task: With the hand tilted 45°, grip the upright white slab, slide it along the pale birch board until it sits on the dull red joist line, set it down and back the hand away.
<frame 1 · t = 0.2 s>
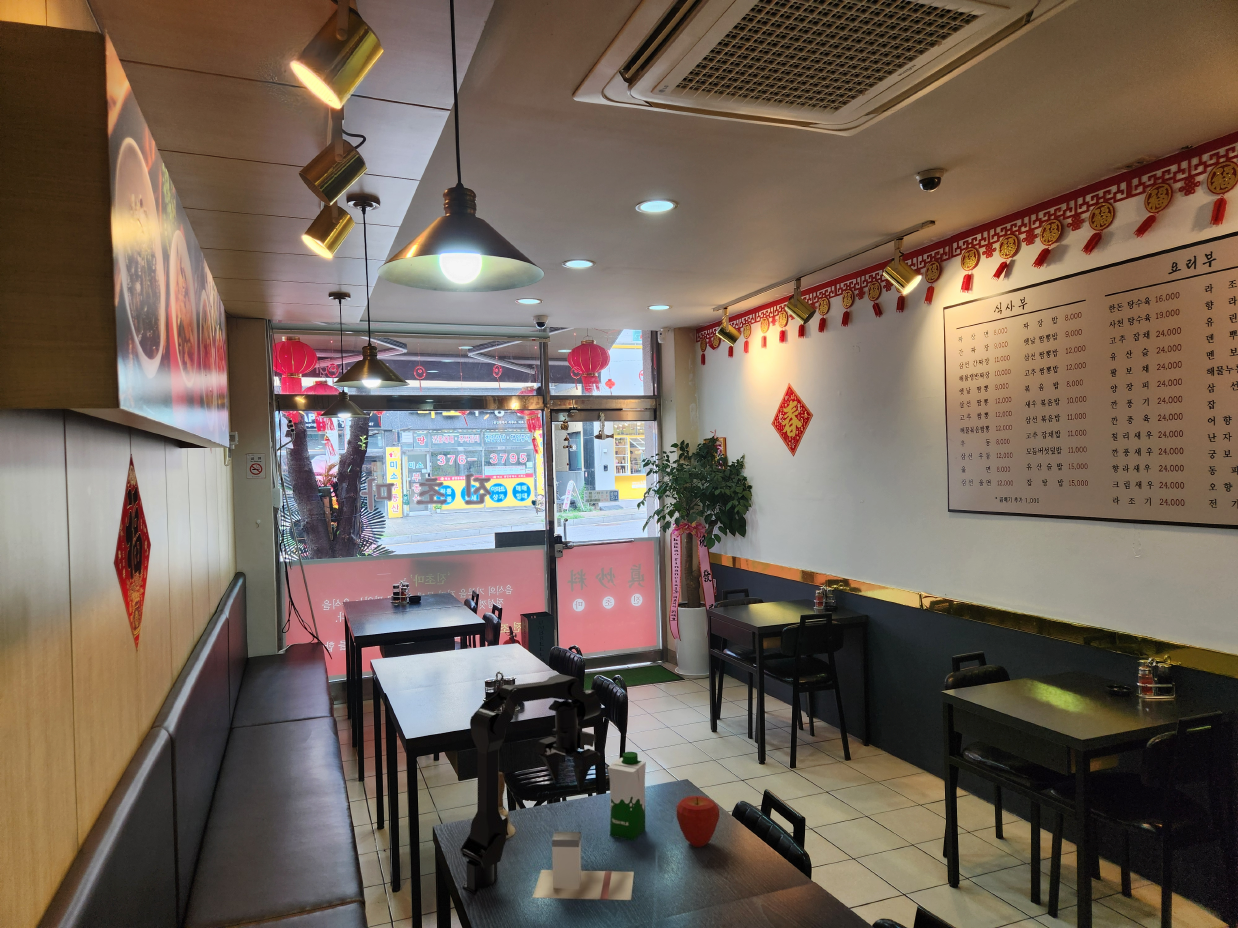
hand: (568, 785, 199), 15 cm above the table, tool pointing down, fingers open, 9 cm apart
hand bell: (499, 833, 206), on the table
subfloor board: (584, 888, 177), on the table
milk carton: (627, 833, 205), on the table
apple: (698, 844, 198), on the table
white slab: (567, 883, 177), point 1 cm above the table, touching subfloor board
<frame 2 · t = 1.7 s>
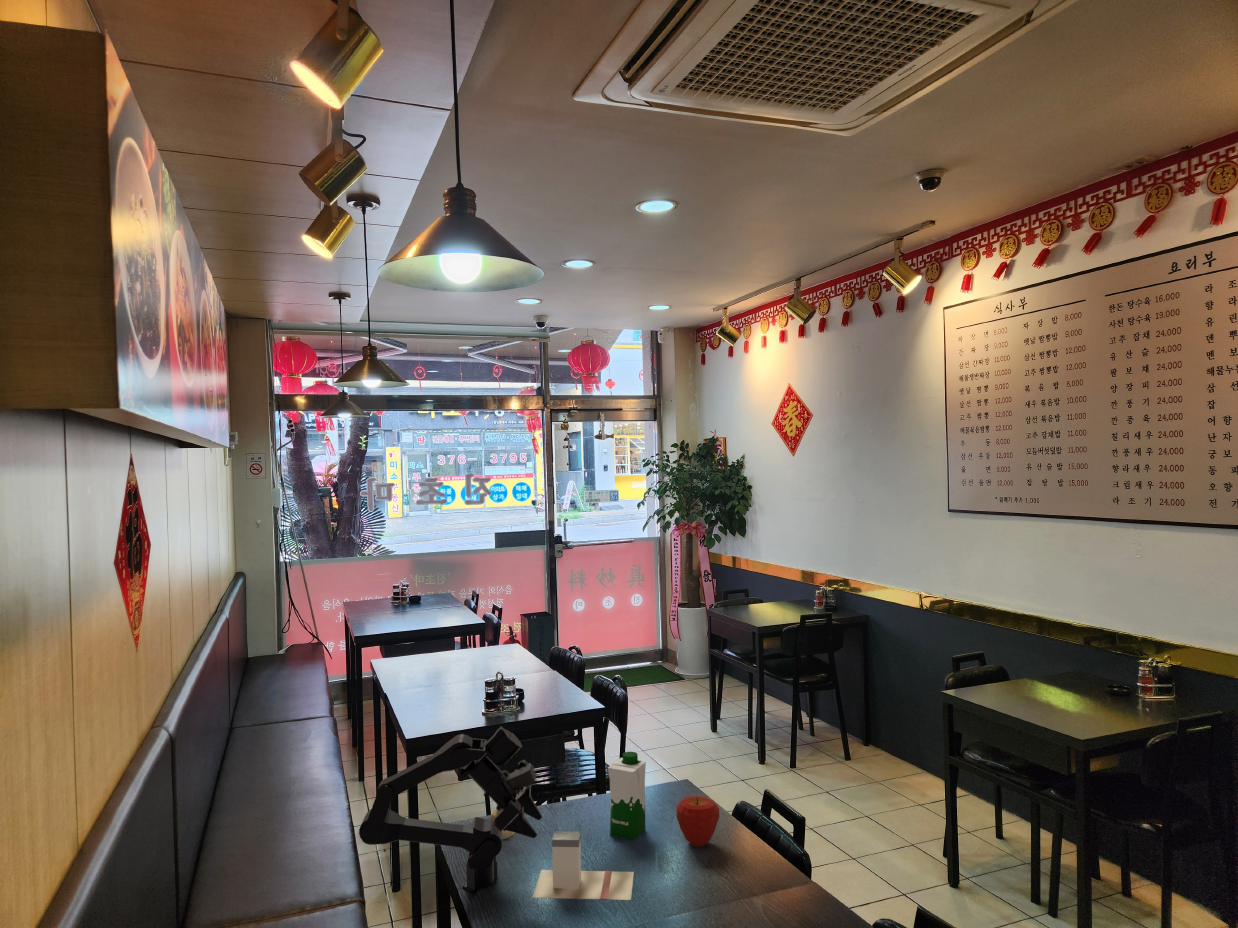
hand: (538, 827, 179), 13 cm above the table, tool tilted 45°, fingers open, 9 cm apart
nothing on the table moved.
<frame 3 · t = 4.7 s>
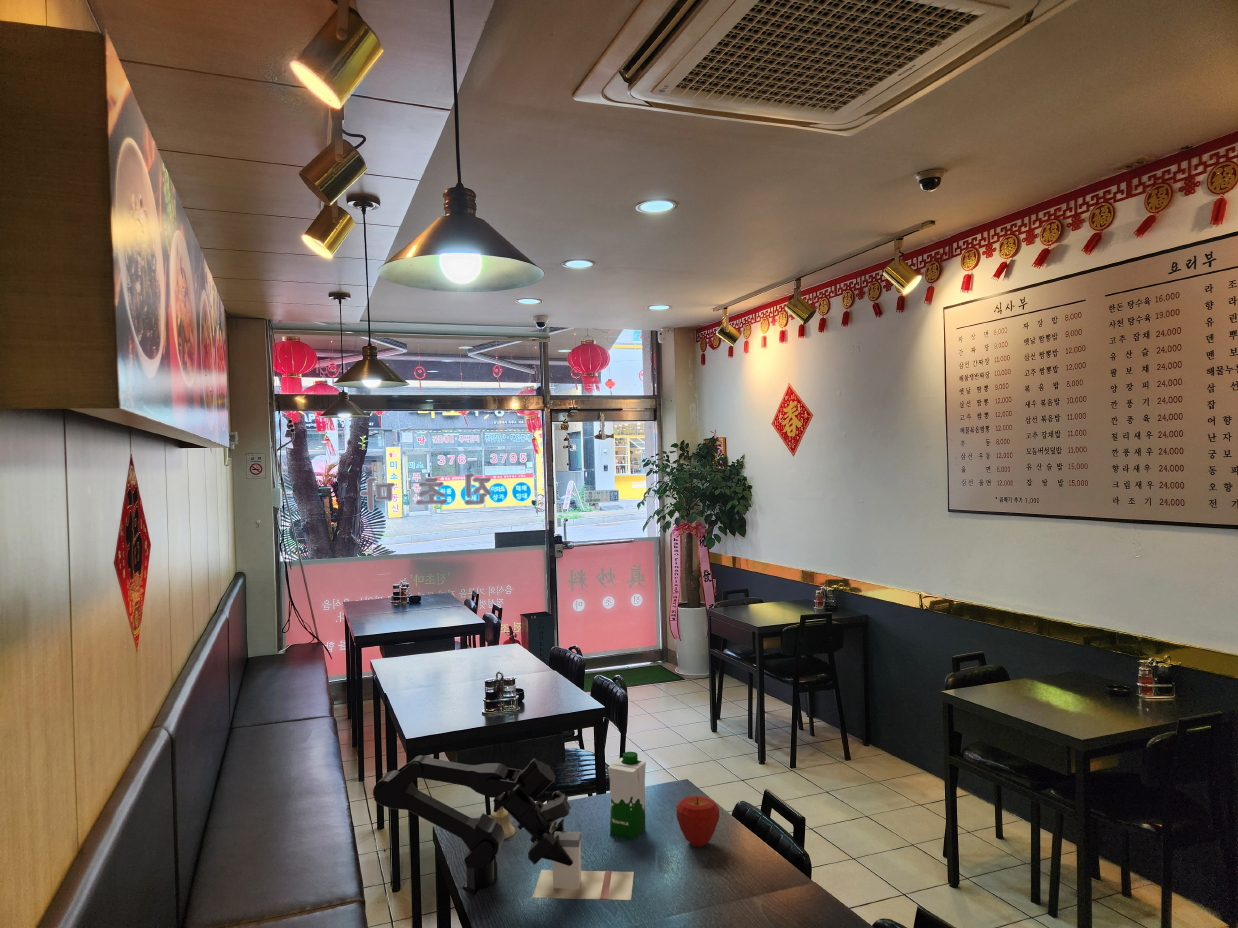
hand: (572, 859, 177), 7 cm above the table, tool tilted 45°, fingers closed on white slab, 4 cm apart
white slab: (567, 883, 177), point 1 cm above the table, touching gripper, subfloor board
everything else where it was.
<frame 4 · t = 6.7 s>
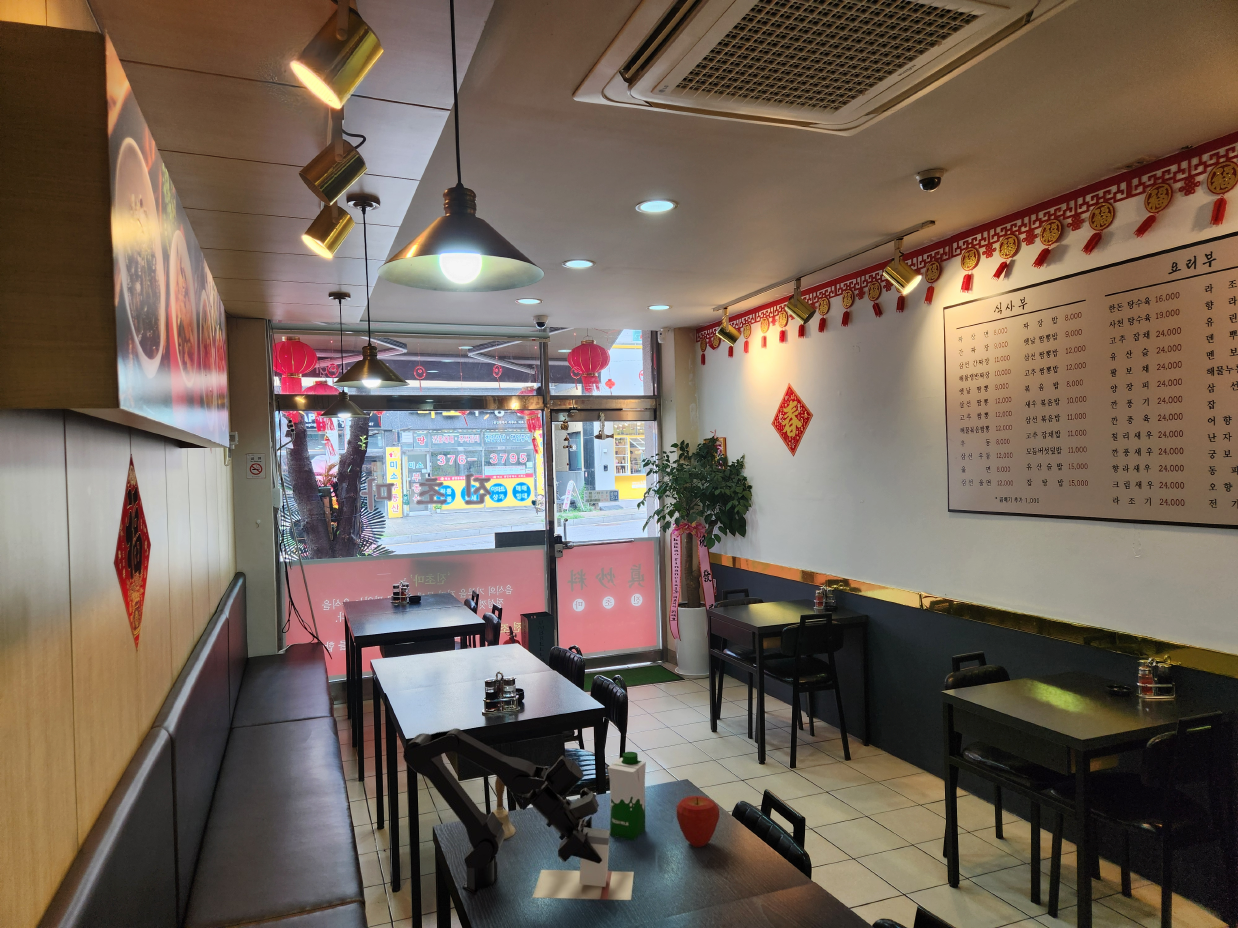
hand: (601, 856, 177), 7 cm above the table, tool tilted 45°, fingers closed on white slab, 4 cm apart
white slab: (593, 880, 177), point 2 cm above the table, touching gripper
everything else where it was.
when the fingers open (7 cm above the table, at t = 9.2 s): white slab stays where it is, resting on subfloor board.
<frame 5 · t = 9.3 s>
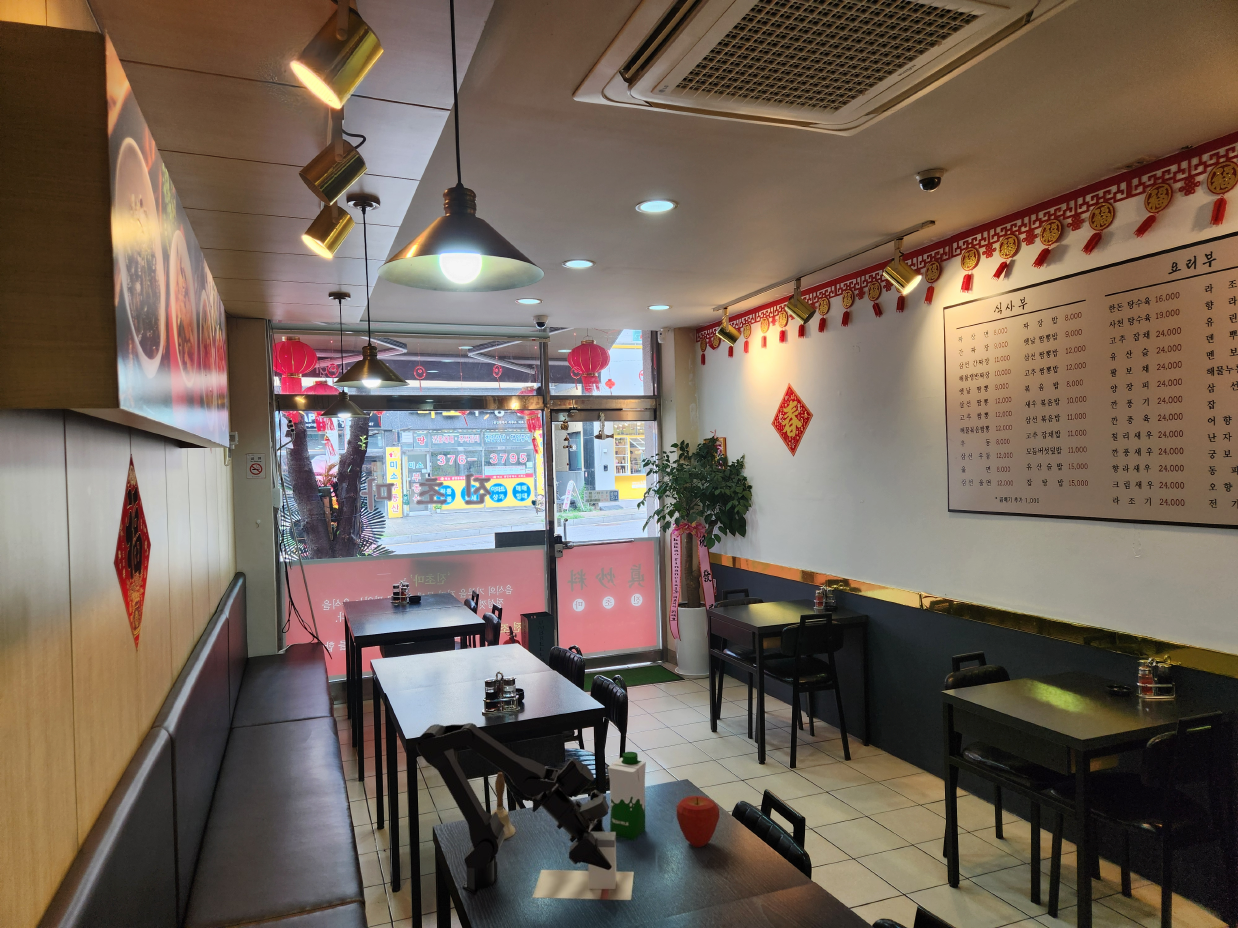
hand: (612, 859, 177), 7 cm above the table, tool tilted 45°, fingers open, 8 cm apart
white slab: (602, 883, 177), point 1 cm above the table, touching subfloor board
everything else where it was.
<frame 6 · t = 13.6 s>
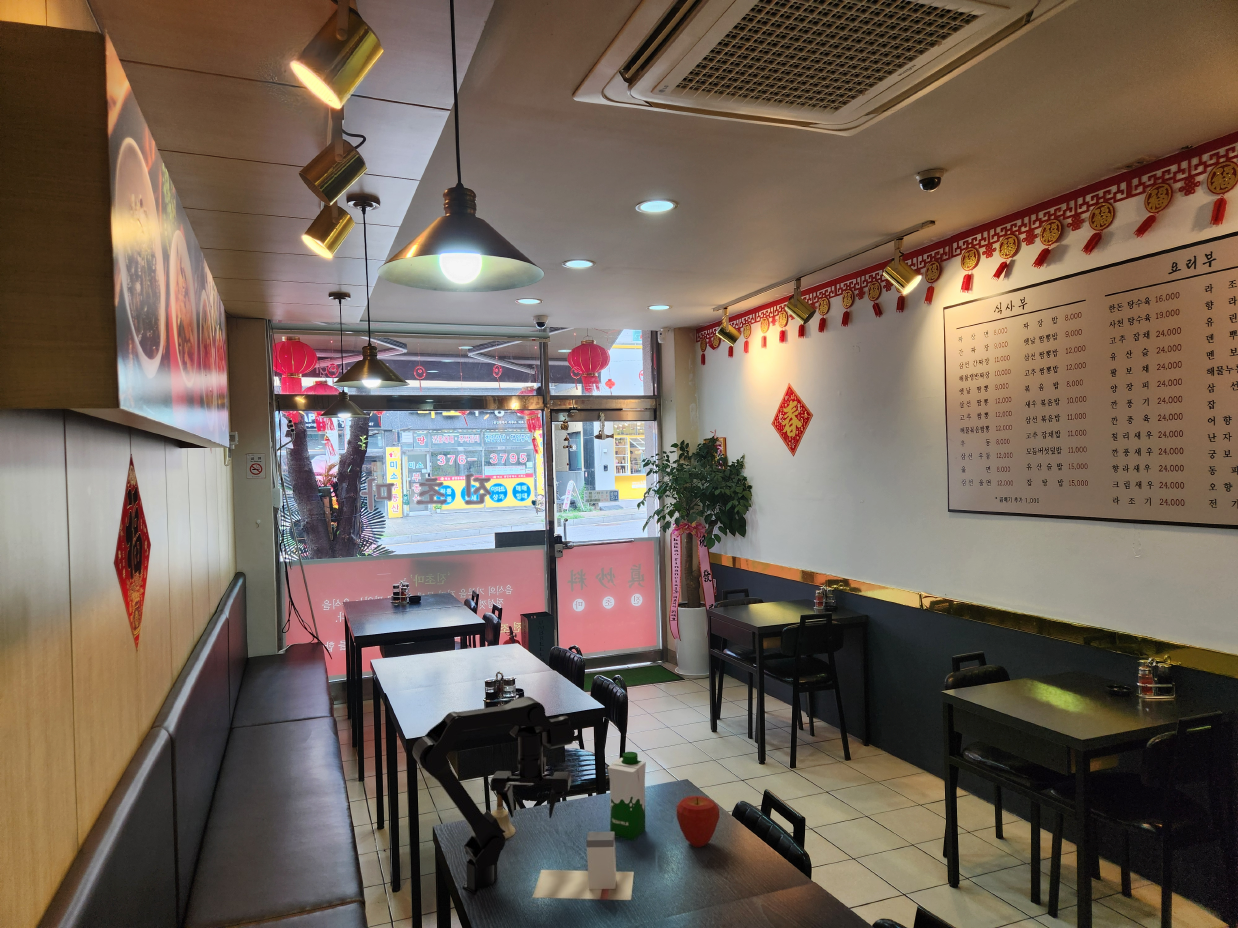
hand: (531, 816, 185), 13 cm above the table, tool pointing down, fingers open, 9 cm apart
nothing on the table moved.
at the end: white slab 0.8 cm from the target spot on the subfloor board, point 1.1 cm above the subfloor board's base; white slab tilted 2°; the gripper is holding nothing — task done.
